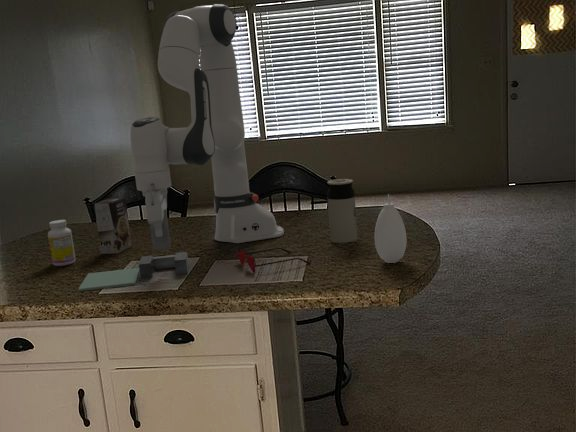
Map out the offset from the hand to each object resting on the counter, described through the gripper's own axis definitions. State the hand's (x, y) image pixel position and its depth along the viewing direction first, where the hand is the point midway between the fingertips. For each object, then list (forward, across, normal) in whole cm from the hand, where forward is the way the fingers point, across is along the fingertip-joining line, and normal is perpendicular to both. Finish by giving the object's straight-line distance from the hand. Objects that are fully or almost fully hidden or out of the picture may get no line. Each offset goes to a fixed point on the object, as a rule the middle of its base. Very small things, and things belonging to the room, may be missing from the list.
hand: (160, 233), depth 161 cm
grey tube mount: (+11, +2, 0) cm, 11 cm away
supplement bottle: (+11, +24, +31) cm, 41 cm away
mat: (+11, 0, +14) cm, 18 cm away
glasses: (+12, -2, -29) cm, 31 cm away
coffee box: (+11, +34, +17) cm, 40 cm away
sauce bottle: (+12, -14, -58) cm, 61 cm away
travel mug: (+12, +14, -52) cm, 55 cm away
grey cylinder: (+4, 0, 0) cm, 4 cm away
